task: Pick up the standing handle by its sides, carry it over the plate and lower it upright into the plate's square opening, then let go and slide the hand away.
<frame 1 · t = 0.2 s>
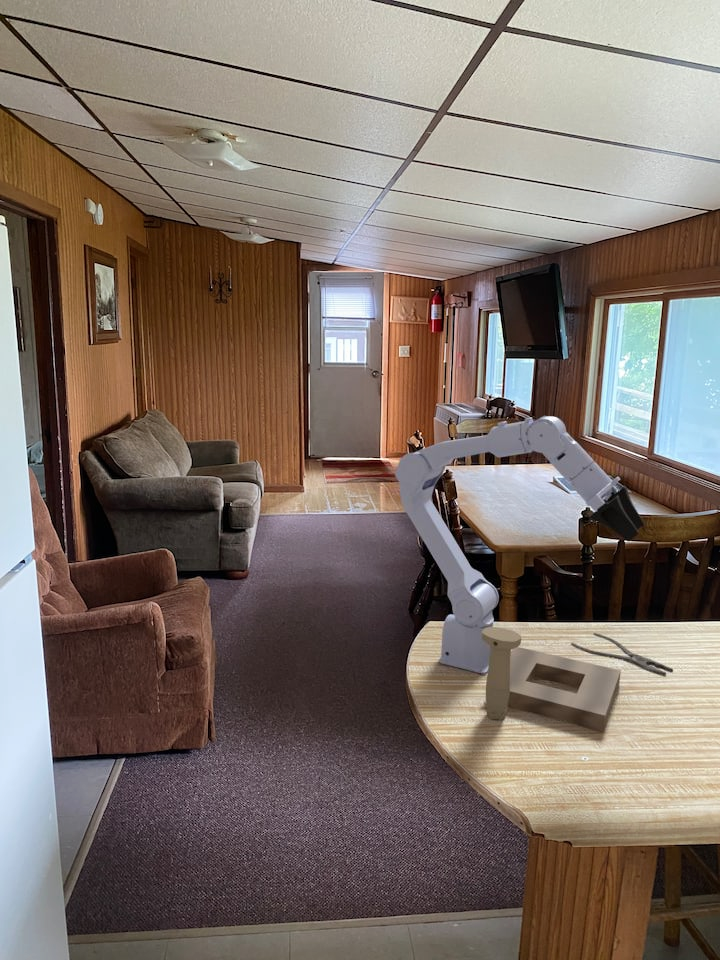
hand: (636, 532, 120), 31 cm above the breakfast bar, tool tilted 45°, fingers open, 7 cm apart
handle: (495, 716, 120), on the breakfast bar
pliers: (624, 655, 145), on the breakfast bar
socket plate: (554, 692, 129), on the breakfast bar
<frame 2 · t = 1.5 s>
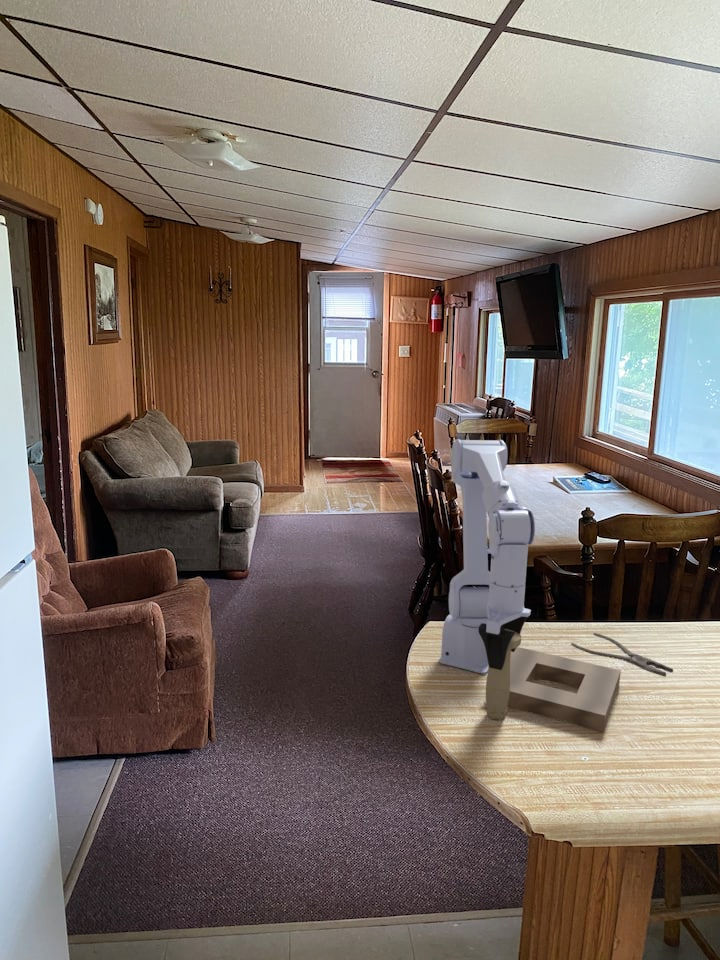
hand: (502, 658, 118), 11 cm above the breakfast bar, tool pointing down, fingers open, 7 cm apart
nothing on the breakfast bar moved.
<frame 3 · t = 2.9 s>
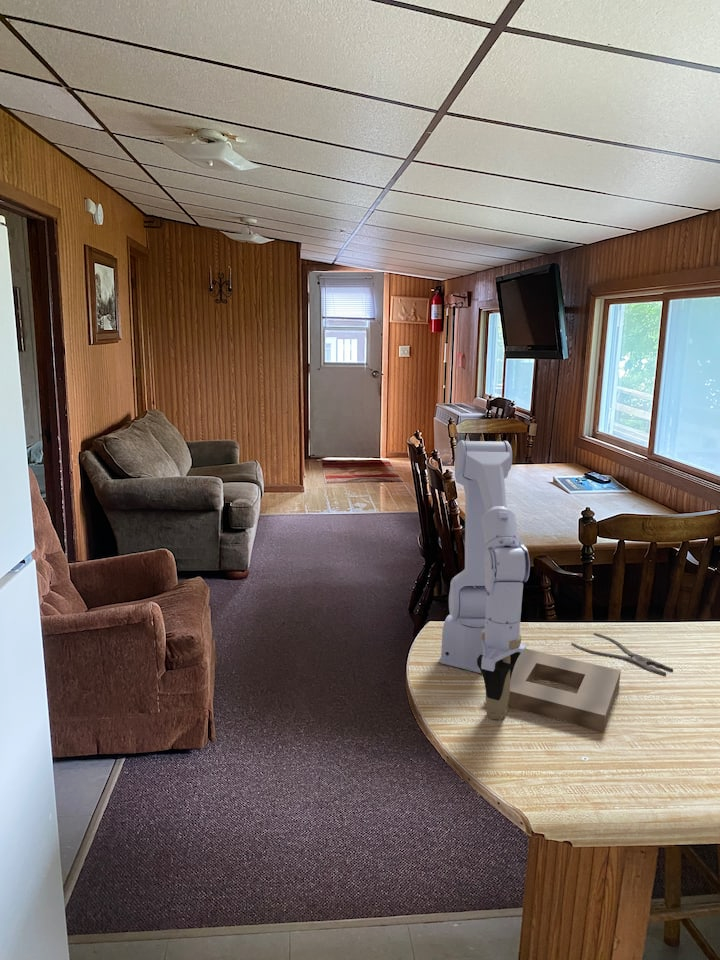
hand: (497, 692, 119), 4 cm above the breakfast bar, tool pointing down, fingers closed on handle, 4 cm apart
handle: (495, 716, 120), on the breakfast bar, touching gripper
everything else where it was.
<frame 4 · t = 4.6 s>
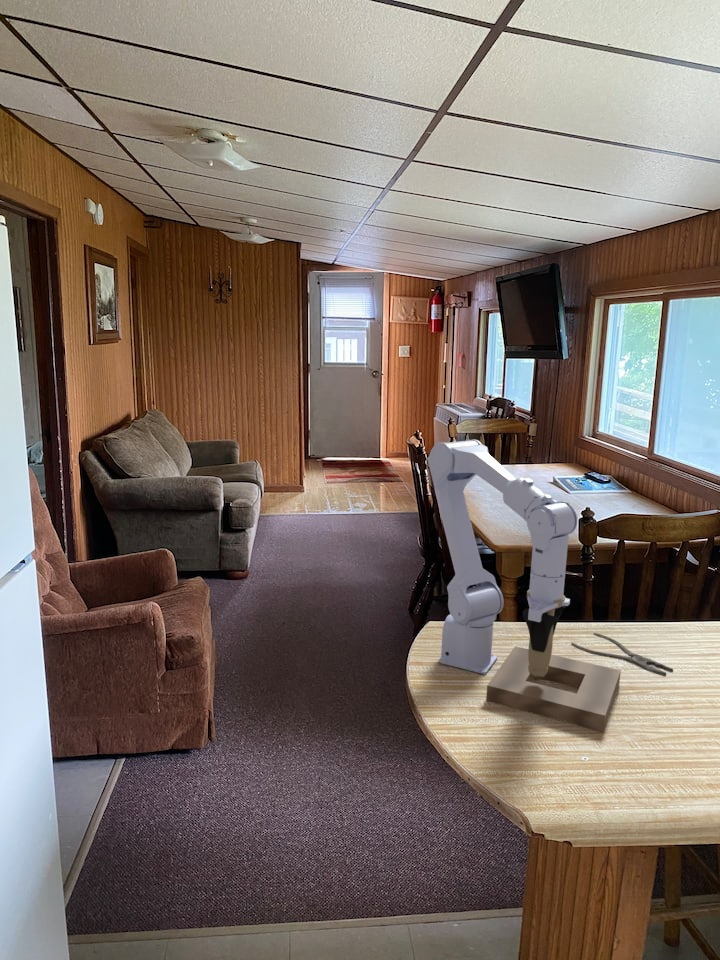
hand: (541, 645, 124), 10 cm above the breakfast bar, tool pointing down, fingers closed on handle, 4 cm apart
handle: (537, 674, 125), point 5 cm above the breakfast bar, touching gripper
everything else where it was.
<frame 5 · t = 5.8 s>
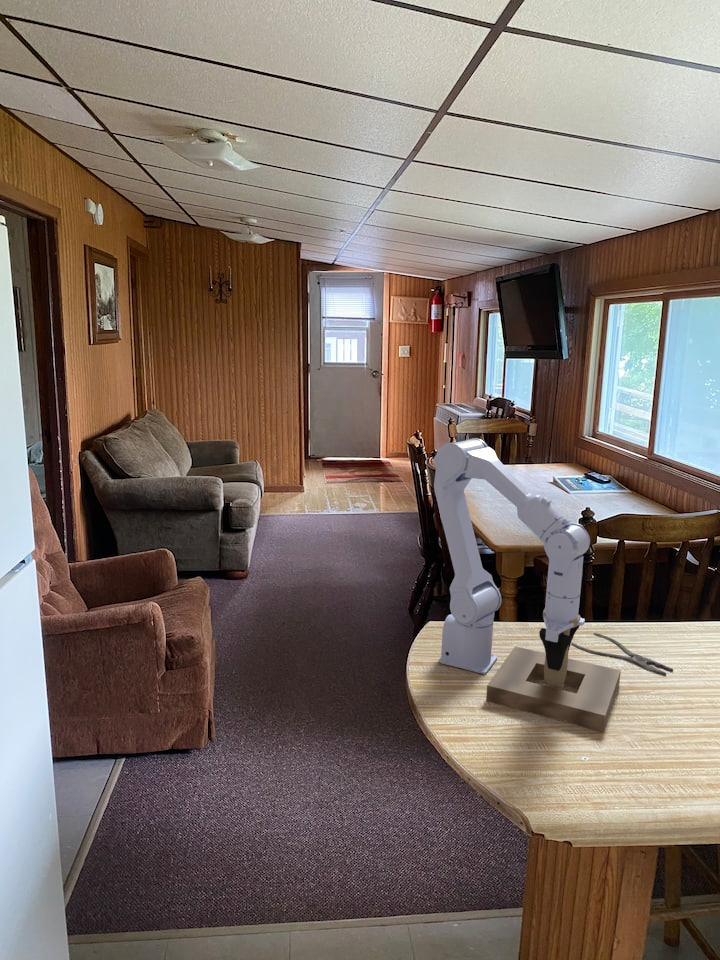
hand: (556, 663, 127), 6 cm above the breakfast bar, tool pointing down, fingers closed on handle, 4 cm apart
handle: (552, 691, 129), resting in socket plate, touching gripper
everything else where it was.
when the fingers open (5 cm above the breakfast bar, at t = 6.3 s): handle stays where it is, resting in socket plate.
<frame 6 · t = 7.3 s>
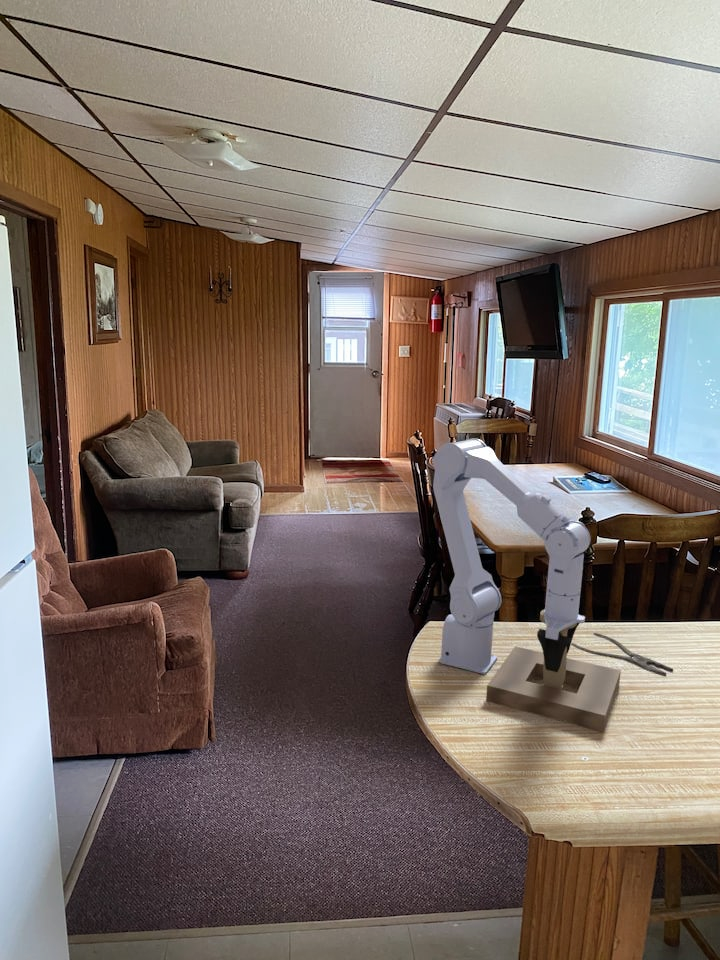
hand: (556, 661, 127), 6 cm above the breakfast bar, tool pointing down, fingers open, 7 cm apart
handle: (552, 693, 129), resting in socket plate
everything else where it was.
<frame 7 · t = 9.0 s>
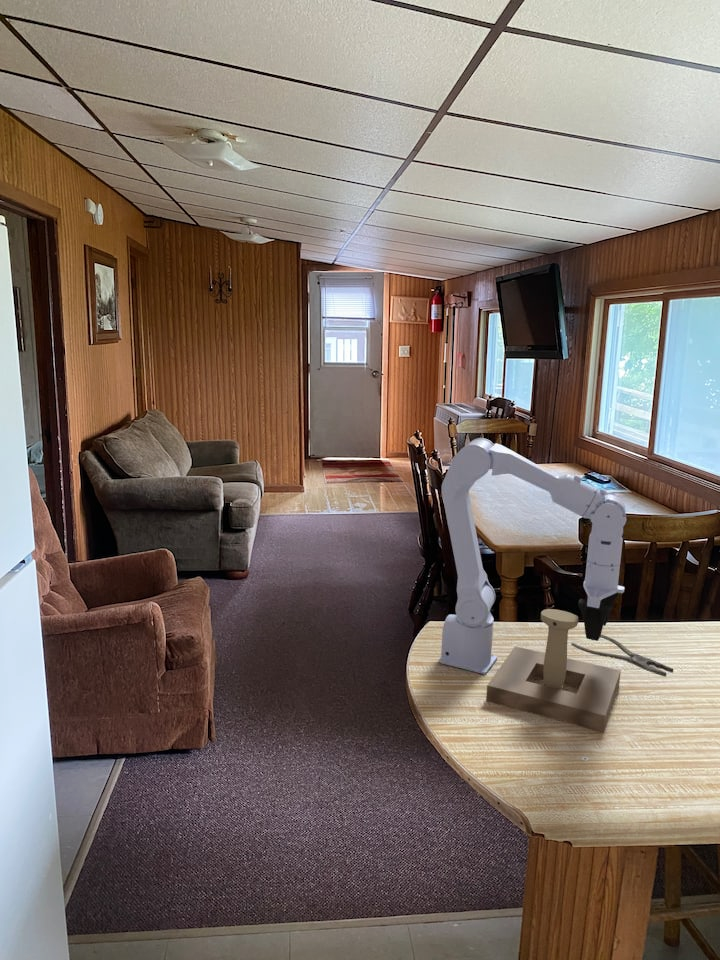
hand: (596, 631, 130), 10 cm above the breakfast bar, tool pointing down, fingers open, 7 cm apart
nothing on the breakfast bar moved.
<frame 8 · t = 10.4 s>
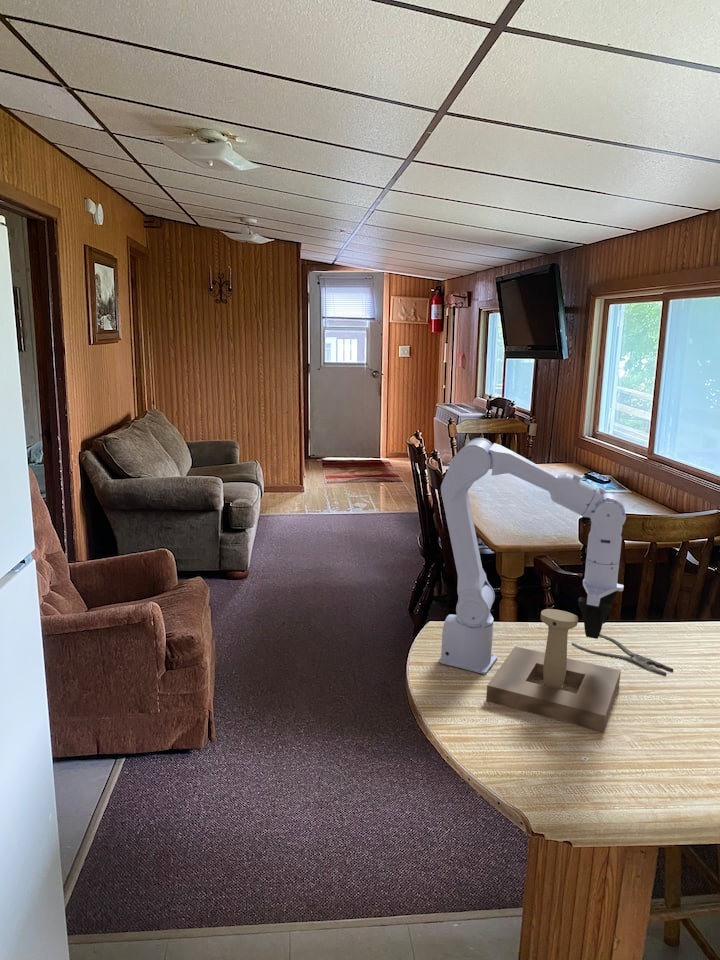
hand: (595, 629, 131), 10 cm above the breakfast bar, tool pointing down, fingers open, 7 cm apart
nothing on the breakfast bar moved.
at the end: handle 0.3 cm off-centre on the socket plate, point 0.0 cm above the socket plate's base; handle tilted 0°; the gripper is holding nothing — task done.
